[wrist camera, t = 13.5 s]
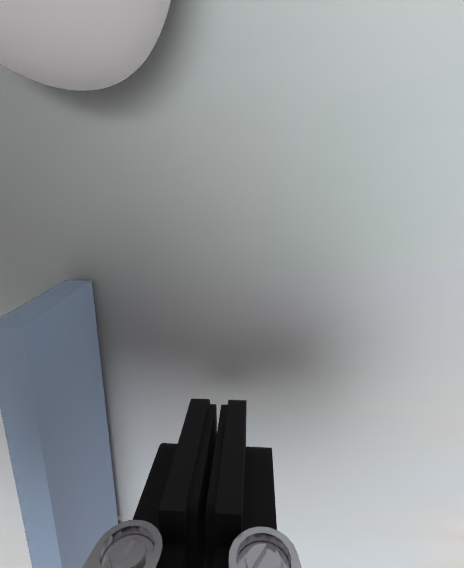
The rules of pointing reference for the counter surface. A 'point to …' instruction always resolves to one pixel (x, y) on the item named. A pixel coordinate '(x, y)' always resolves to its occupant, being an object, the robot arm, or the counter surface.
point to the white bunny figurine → (79, 39)
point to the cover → (57, 424)
